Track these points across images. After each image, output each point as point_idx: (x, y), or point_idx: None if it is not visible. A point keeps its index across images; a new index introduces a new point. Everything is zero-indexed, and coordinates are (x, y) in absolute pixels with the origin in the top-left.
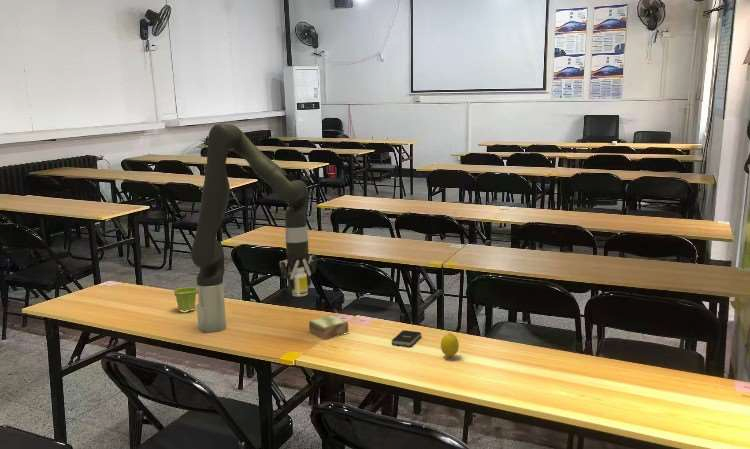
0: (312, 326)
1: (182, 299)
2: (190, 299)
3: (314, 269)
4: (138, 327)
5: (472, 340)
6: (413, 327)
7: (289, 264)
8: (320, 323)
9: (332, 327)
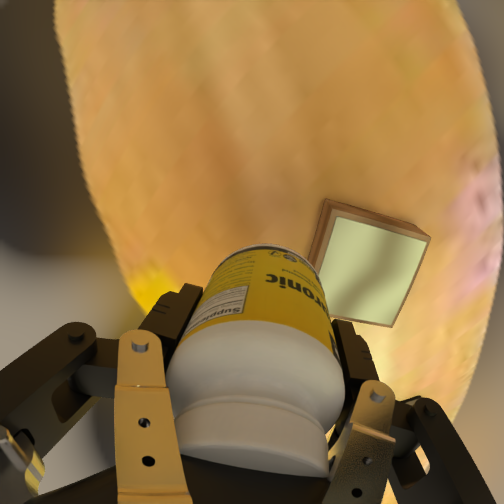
0: (323, 229)
1: None
2: None
3: (401, 465)
4: None
5: (420, 456)
6: (463, 381)
7: (89, 486)
8: (332, 271)
9: (334, 315)
